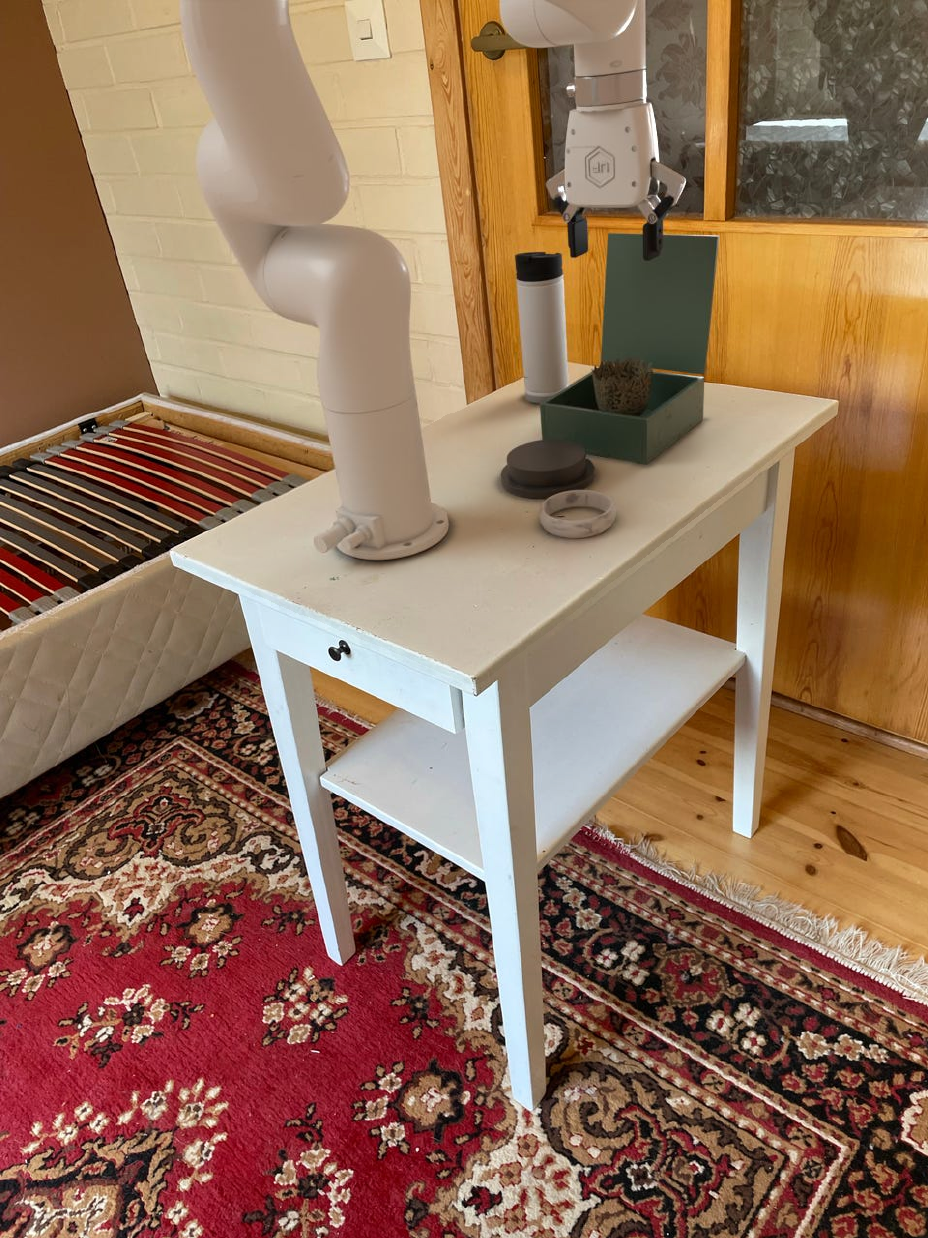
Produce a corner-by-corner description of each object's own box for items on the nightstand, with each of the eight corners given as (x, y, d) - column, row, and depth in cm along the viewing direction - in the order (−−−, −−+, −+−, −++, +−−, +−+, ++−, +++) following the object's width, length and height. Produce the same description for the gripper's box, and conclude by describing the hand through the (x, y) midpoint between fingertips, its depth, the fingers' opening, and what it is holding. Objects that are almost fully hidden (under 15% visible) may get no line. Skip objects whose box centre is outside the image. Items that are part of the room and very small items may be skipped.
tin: (647, 464, 110) (646, 419, 107) (542, 446, 119) (539, 403, 116) (703, 419, 120) (704, 376, 117) (603, 405, 128) (601, 364, 125)
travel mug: (514, 401, 133) (502, 254, 122) (542, 386, 137) (533, 243, 126) (550, 408, 129) (541, 257, 119) (577, 392, 133) (571, 245, 123)
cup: (583, 426, 121) (580, 366, 116) (631, 412, 123) (630, 352, 119) (614, 444, 115) (612, 381, 111) (664, 429, 117) (665, 366, 113)
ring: (564, 499, 105) (563, 483, 104) (629, 512, 101) (629, 495, 100) (525, 530, 100) (524, 513, 99) (592, 545, 95) (591, 528, 94)
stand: (562, 506, 104) (560, 481, 102) (482, 488, 110) (480, 465, 108) (611, 467, 111) (611, 444, 109) (534, 453, 117) (532, 430, 115)
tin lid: (717, 235, 110) (719, 235, 110) (607, 232, 118) (610, 232, 118) (703, 374, 117) (705, 373, 117) (600, 362, 125) (602, 362, 125)
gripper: (525, 101, 104) (536, 261, 113) (668, 91, 94) (667, 267, 104) (560, 92, 109) (568, 246, 118) (700, 82, 99) (696, 251, 108)
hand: (614, 256), depth 111 cm, fingers open, 9 cm apart
